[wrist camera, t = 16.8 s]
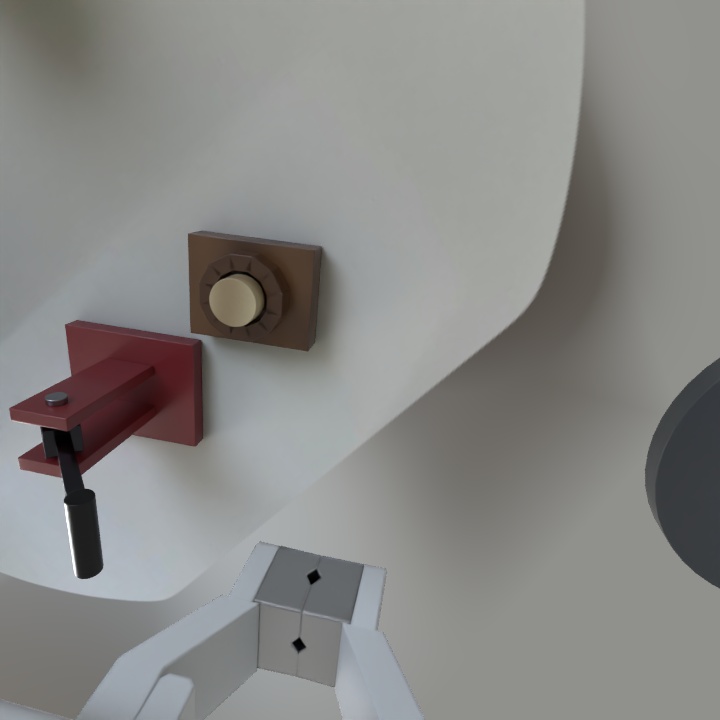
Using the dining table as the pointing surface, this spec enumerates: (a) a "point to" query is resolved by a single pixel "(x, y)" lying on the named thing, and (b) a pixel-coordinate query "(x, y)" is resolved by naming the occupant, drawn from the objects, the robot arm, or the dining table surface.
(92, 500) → the lever
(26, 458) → the bracket
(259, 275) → the control block
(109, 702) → the robot arm
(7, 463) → the dining table surface
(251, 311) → the button
